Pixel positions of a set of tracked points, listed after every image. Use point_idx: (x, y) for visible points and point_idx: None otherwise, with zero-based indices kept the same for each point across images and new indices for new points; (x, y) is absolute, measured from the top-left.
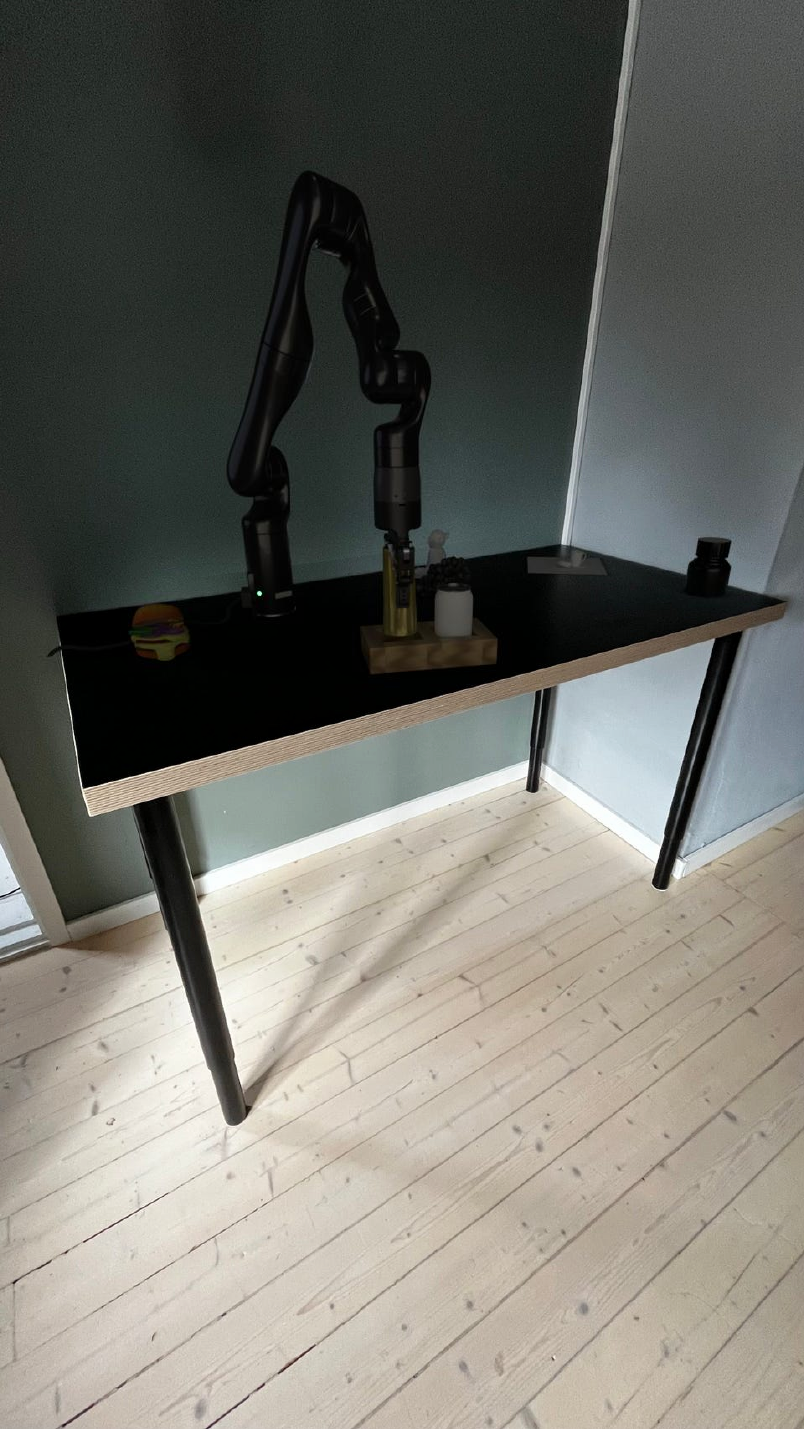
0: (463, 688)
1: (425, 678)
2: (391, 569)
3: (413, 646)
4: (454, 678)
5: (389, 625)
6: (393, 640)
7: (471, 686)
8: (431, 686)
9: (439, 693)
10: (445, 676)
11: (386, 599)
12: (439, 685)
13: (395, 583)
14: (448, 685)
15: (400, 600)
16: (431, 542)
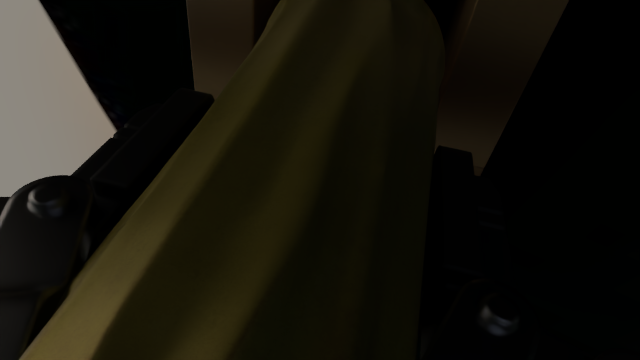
0: (92, 88)
1: (166, 22)
2: (5, 296)
3: (193, 48)
4: (160, 98)
5: (288, 6)
6: (452, 35)
7: (105, 110)
8: (103, 12)
9: (53, 13)
10: (176, 84)
11: (264, 69)
12: (111, 38)
13: (74, 191)
14: (111, 62)
15: (129, 126)
16: None
